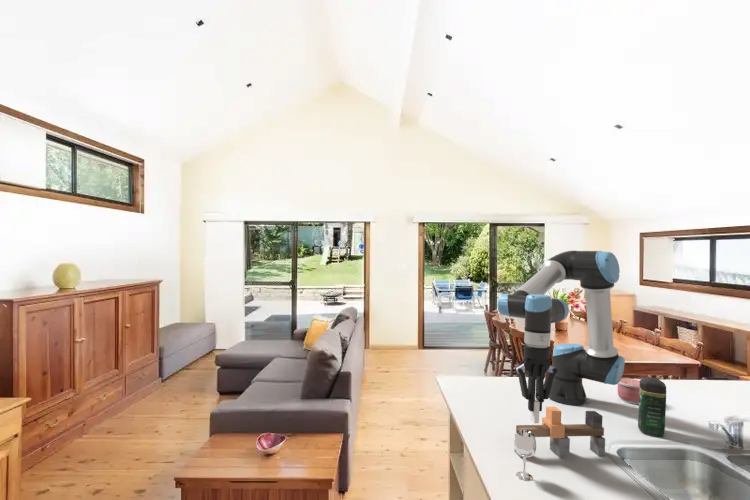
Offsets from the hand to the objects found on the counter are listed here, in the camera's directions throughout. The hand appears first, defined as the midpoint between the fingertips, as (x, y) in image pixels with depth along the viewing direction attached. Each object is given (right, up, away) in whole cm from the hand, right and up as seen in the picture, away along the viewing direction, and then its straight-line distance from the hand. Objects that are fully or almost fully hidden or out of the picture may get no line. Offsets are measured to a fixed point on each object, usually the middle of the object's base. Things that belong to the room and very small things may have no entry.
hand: (534, 421), depth 129 cm
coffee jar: (+49, -12, +19) cm, 53 cm away
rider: (+6, -4, +1) cm, 7 cm away
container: (+60, -12, +49) cm, 78 cm away
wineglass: (-8, -10, -12) cm, 18 cm away
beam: (+8, -11, +1) cm, 13 cm away
